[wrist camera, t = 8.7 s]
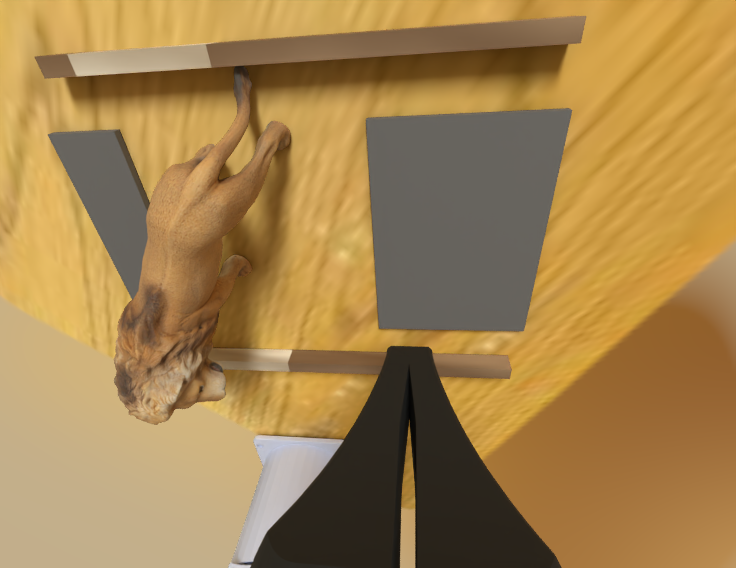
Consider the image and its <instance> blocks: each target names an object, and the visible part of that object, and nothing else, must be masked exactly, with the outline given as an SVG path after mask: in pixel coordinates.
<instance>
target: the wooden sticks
mask: <svg viewBox="0 0 736 568" xmlns="http://www.w3.org/2000/svg"><path fill="white" fill-rule="evenodd" d="M585 20H586V16H569V17H555V18H542V19H528V20H515V21H501V22H488V23H474V24H461V25H447V26H434V27H420V28H407V29H393V30H380V31H366V32H353V33H339V34H326V35H312V36H299V37H285V38H272V39H258V40H245V41H231V42H218V43H204V44H191V45H177V46H164V47H150V48H137V49H123V50H110V51H96V52H83V53H69V54H56V55H47V56H37V57H35V59H36V61H37V63H38V65H39V67H40V69H41V71H42V73H43V76H44V78H45V79H46V78H61V77H76V76H91V75H107V74H122V73H137V72H152V71H167V70H182V69H198V68H213V67H228V66H243V65H258V64H273V63H289V62H304V61H319V60H334V59H349V58H364V57H380V56H395V55H410V54H425V53H440V52H455V51H471V50H486V49H501V48H516V47H531V46H546V45H562V44H577V43H581V39H582V34H583V30H584V25H585ZM386 354H387V352H355V351H316V350H278V349H240V348H213V349H212V351H211V352H210V353H209V355H208V359H210V360H212V361H214V362H218V363H221V364H222V365H223V367H224V369H228V370H258V371H288V372H318V373H349V374H380V372H381V369H382V366H383V364H384V361H385V357H386ZM433 359H434V363H435V366H436V369H437V372H438V375H439V376H440V377H470V378H500V379H510V375H511V370H512V369H511V366H510V362H509V358H508V355H470V354H433Z"/></svg>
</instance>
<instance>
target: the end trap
mask: <svg viewBox="0 0 736 568" xmlns="http://www.w3.org/2000/svg"><path fill="white" fill-rule="evenodd" d="M48 136H49V138H50V140H51V142H52V144H53V146H54V148H55V150H56V152H57V154H58V156H59V158H60V159H61V161H62V163H63V165H64V167H65V169H66V171H67V173H68V175H69V177H70V179H71V181H72V183H73V185H74V187H75V189H76V191H77V193H78V195H79V197H80V198H81V200H82V202H83V204H84V206H85V208H86V210H87V212H88V214H89V216H90V218H91V220H92V222H93V224H94V226H95V228H96V230H97V232H98V234H99V236H100V237H101V239H102V241H103V243H104V245H105V247H106V249H107V251H108V253H109V255H110V257H111V259H112V261H113V263H114V265H115V267H116V269H117V271H118V273H119V275H120V276H121V278H122V280H123V282H124V284H125V286H126V288H127V290H128V292H129V294H130V296H131V298H132V300H133V299H134V297H135V295H136V294H137V292H138V291H139V282H140V276H141V270H142V261H143V256H144V252H145V248H146V244H147V240H148V233H147V223H146V215H147V211H148V208H149V205H150V203H149V201H148V199H147V196H146V194H145V191H144V189H143V186H142V184H141V181H140V179H139V177H138V174H137V172H136V169H135V167H134V164H133V162H132V159H131V157H130V155H129V152H128V150H127V147H126V145H125V142H124V140H123V137H122V135H121V133H120V130H98V131H77V132H55V133H51V134H48Z"/></svg>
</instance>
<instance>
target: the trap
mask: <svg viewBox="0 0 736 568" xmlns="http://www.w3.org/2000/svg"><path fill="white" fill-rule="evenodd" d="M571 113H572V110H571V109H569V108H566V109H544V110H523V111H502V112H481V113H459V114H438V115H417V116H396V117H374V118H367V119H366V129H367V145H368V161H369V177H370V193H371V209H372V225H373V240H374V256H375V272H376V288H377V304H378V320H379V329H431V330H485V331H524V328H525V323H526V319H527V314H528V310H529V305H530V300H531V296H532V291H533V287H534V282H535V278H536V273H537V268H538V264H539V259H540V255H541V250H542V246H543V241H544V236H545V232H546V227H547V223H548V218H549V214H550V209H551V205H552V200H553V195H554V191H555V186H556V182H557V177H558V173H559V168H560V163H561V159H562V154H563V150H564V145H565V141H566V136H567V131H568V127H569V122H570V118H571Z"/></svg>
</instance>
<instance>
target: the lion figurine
mask: <svg viewBox="0 0 736 568" xmlns="http://www.w3.org/2000/svg"><path fill="white" fill-rule="evenodd" d="M251 87H252V83H251V81H250V79H249V74H248V71H247V69H246V68H245V67H244V66H235V68H234V95H235V97H236V101H237V107H238V110H237V116H236V118H235V121H234V122H233V124H232V126H231V127H230V129H229V130H228V132H227V133H226V134H225V135H224V137H223V138H222V139H221V140H220V141H219V142H218V143H217V144H216V145H215V146H214V145H213V144H209V145H207V146H205V147H203V148H201V149H200V150H199V151H198V152H197V153H196V155H195V157H194V158H193V159H191V160H190V161H188V162H186V163H182V164H175V165H172V166H171V167H169V168H168V169H167V171H166V172H165V173H164V174H163V176H162V177H161V179H160V180H159V182H158V183H157V185H156V187H155V189H154V191H153V195H152V198H151V202H150V205H149V208H148V211H147V215H146V223H147V233H148V240H147V244H146V248H145V252H144V256H143V261H142V270H141V276H140V282H139V291H138V292H137V294H136V295H135V297H134V299H133V300H131V301H130V302H129V303H128V305H127V306H126V307H125V309H124V311H123V313H122V315H121V318H120V319H119V322H118V323H119V324H118V328H117V330H118V335H119V336H118V338H117V340H116V355H115V358H114V363H115V367H116V370H117V374H116V377H115V378H114V383H115V385H116V386H117V388H118V396H119V398H120V400H121V401H122V402H123V403H124V405H125V407H126V408H127V409H128V410H129V415H134V416H135V417H136V418H137V419H140V420H142V421H145V422H147V423H151V424H154V425H157V424H158V423H161V422H165V421H167V420H168V419H169V418H170V416H171V415H172V413H173V411H174V410H175V409H186V408H189V407H191V406H192V405H193V404H195V403H197V402H205V401H219V400H221V399H223V398H224V397H225V395H226V392H225V386H226V378H225V376H224V374H223V370H224V367H223V365H222V364H221V363H218V362H214V361H212V360H210V359H208V355H209V353H210V352H211V351H212V349H213V343H212V337H213V335H214V333H215V331H216V328H217V323H218V317H219V309H220V308H221V306H222V305H223V304H224V303H225V301H226V300H227V298H228V297H229V295H230V294H231V291H232V289H233V286H234V282H235V279H236V277H237V276H238V277H240V276H246V275H248V273H250V272H251V271H252V267H251V265H250V263H249V262H248V260H247V259H246V258H244V257H242V256H239V255H232V256H231V257H229V258H228V259H227V260H226V261H225V262H224V264H223V266H222V269H221V272H220V274H219V276H218V270H219V265H220V261H221V256H222V247H223V241H222V237H223V236H224V235H226V234H227V233H228V232H229V231H230V230H231V229H232V228H234V227H235V225H236V224H237V223H238V222H239V221H240V220H241V219H242V218H243V217H244V215H245V214H246V212H247V211H248V209H249V208H250V207H251V205H252V204H253V203H254V202H255V200H256V198H257V196H258V194H259V192H260V190H261V188H262V186H263V184H264V181H265V178H266V175H267V172H268V169H269V165H270V162H271V160H272V157H273V155H274V153H275V152H276V150H282V149H284V148H285V147H287V146H288V145H289V143H290V138H291V135H290V130H289V129H288V128H287V127H286V126H285V125H284V124H282V123H280V122H277V121H271V122H270V123H269V124H268V125H267V127H266V129H265V131H264V132H263V133H262V135H261V136H260V138H259V140H258V142H257V146H256V151H255V153H254V156H253V158H252V160H251V161H250V162H249V163H248V164H247V165H246V166H245V167H244V168H243V169H242V171H241V172H240V173H238V174H236V175H233V176H231V177H228V178H225V179H221V180H219V173H220V170H221V168H222V166H223V165H224V163H225V162H226V160H227V159H228V158H229V156H230V155H231V154H232V152H233V151H234V149H235V148H236V146H237V145H238V143H239V142H240V140H241V138H242V136H243V135H244V133H245V131H246V129H247V127H248V123H249V118H250V91H251Z"/></svg>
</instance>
